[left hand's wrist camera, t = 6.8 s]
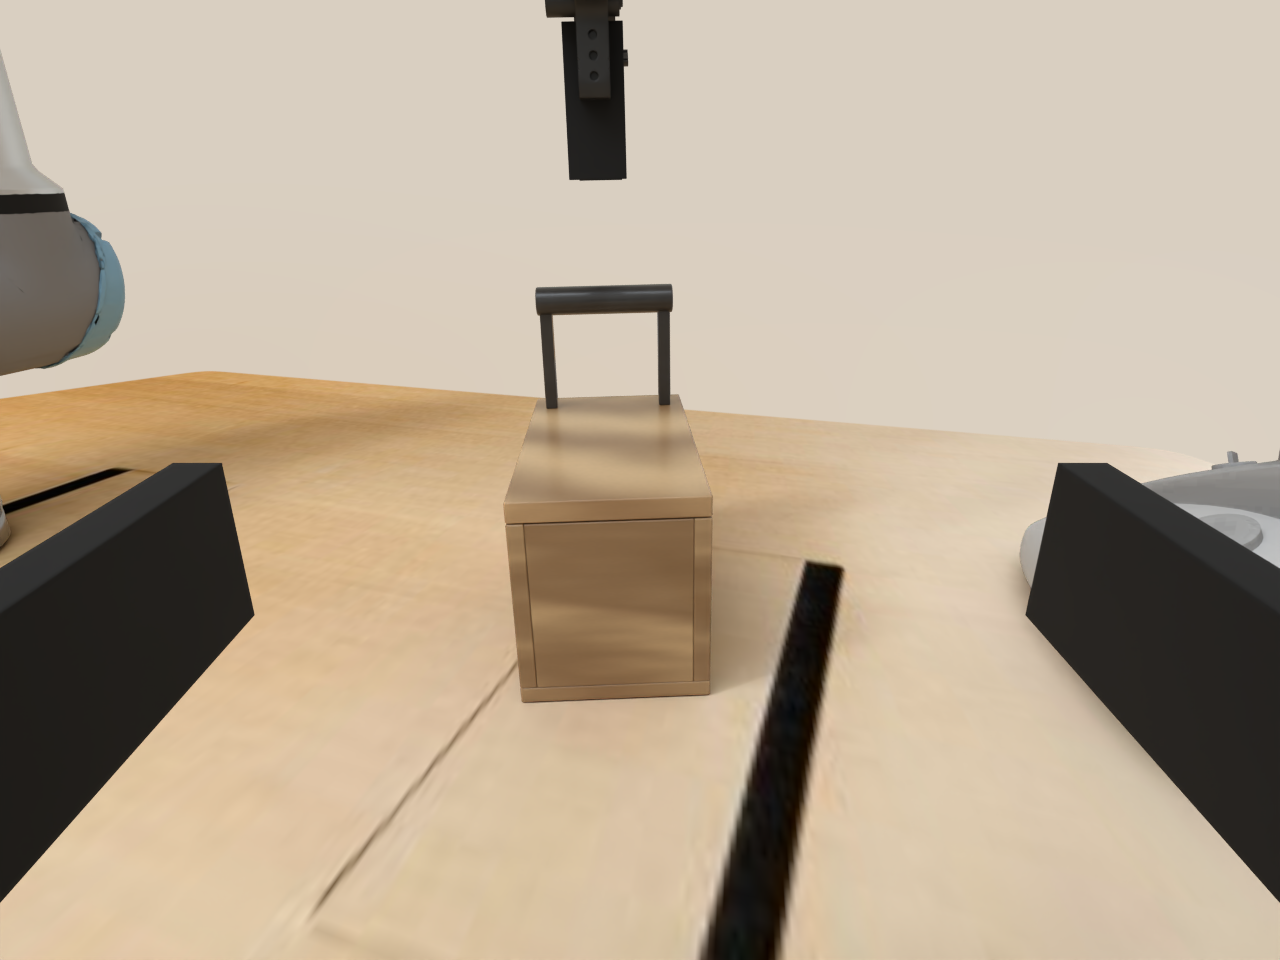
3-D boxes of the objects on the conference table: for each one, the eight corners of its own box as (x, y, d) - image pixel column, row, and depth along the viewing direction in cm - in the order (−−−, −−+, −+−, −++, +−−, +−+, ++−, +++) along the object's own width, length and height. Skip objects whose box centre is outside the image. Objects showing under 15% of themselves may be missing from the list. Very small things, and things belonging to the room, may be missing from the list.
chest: (547, 548, 53) (538, 416, 49) (679, 543, 53) (679, 412, 50) (521, 702, 37) (504, 525, 34) (709, 694, 37) (712, 518, 34)
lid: (538, 413, 50) (529, 283, 47) (678, 409, 50) (678, 279, 47) (504, 524, 34) (487, 335, 31) (712, 517, 34) (715, 329, 31)
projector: (1503, 648, 39) (1632, 370, 34) (1678, 1008, 22) (1988, 568, 17) (1035, 540, 52) (1075, 325, 47) (923, 719, 35) (966, 414, 30)
